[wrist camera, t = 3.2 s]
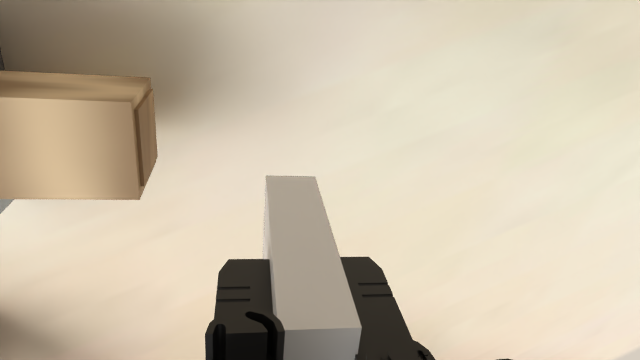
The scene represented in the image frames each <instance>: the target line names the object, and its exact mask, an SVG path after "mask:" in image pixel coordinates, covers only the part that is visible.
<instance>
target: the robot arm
mask: <svg viewBox="0 0 640 360" xmlns="http://www.w3.org/2000/svg"><path fill="white" fill-rule="evenodd" d="M205 348H206V360H435V358H434V357H433V356H432V354H431V353H430V351H429V350H428V349H426V348H425V347H424V346H422V345H421V344H420V343H418V342H416V341H414V340H412V337H411V335H410V333H409V330H408V328H407V326H406V323H405V321H404V319H403V317H402V314H401V312H400V310H399V307H398V305H397V303H396V301H395V298H394V297H393V294H392V291H391V289H390V287H389V285H388V282H387V280H386V278H385V275H384V273H383V271H382V269H381V268H380V267H379V266H378V265H377V264H376V263H375V262H374V261H373V260H372V259H370V258H369V257H340V256H339V253H338V249H337V246H336V243H335V240H334V236H333V233H332V230H331V227H330V224H329V220H328V217H327V214H326V211H325V207H324V204H323V201H322V198H321V195H320V191H319V188H318V185H317V182H316V178H315V177H307V176H266V185H265V211H264V237H263V259H229V260H228V261H227V262H226V264H225V265H224V266H223V267H222V269H221V270H220V271H219V275H218V285H217V295H216V305H215V315H214V320H213V321H212V322H210V323H209V326H208V328H207V331H206V333H205ZM498 360H511V359H498Z"/></svg>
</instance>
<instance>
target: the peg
mask: <svg viewBox="0 0 640 360" xmlns="http://www.w3.org/2000/svg"><path fill="white" fill-rule="evenodd" d="M156 159H157V142H156V127H155V112H154V97H153V89H151V80H150V78H145V77H124V76H104V75H83V74H62V73H41V72H21V71H0V199H96V200H140V197H141V195H142V193H143V190H144V188H145V186H146V183H147V181H148V179H149V176H150V174H151V172H152V170H153V167H154V165H155V163H156Z"/></svg>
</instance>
